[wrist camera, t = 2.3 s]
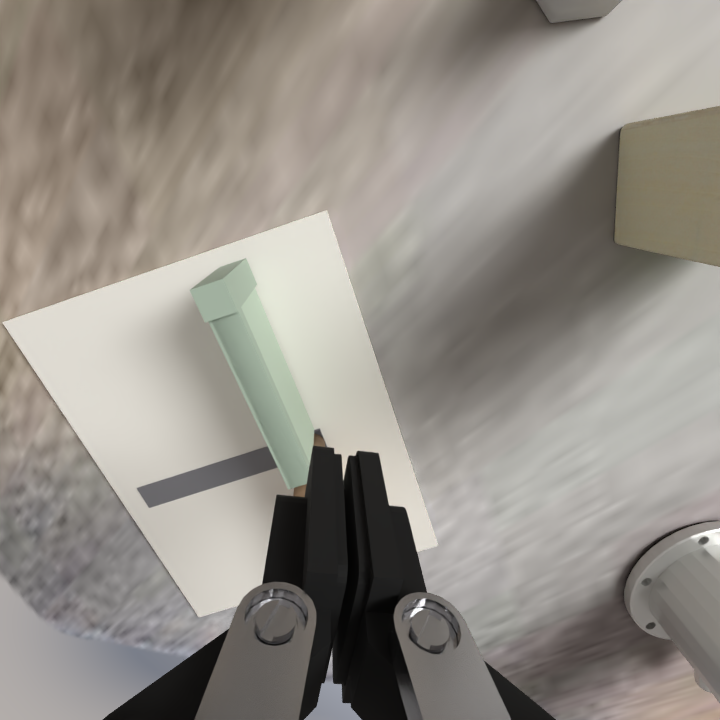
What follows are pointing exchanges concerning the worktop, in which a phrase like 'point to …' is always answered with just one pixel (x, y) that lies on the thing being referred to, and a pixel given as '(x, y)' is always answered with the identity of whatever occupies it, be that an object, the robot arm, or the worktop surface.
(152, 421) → the card
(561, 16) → the flask
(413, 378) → the worktop surface
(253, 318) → the mint green long bar
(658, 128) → the toy refrigerator
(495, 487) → the worktop surface
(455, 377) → the worktop surface
